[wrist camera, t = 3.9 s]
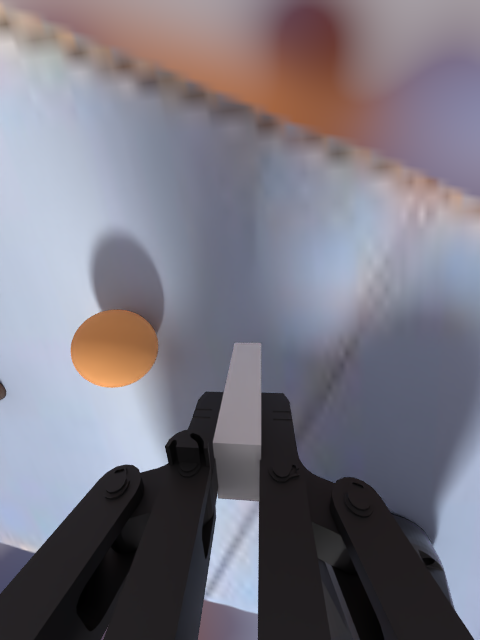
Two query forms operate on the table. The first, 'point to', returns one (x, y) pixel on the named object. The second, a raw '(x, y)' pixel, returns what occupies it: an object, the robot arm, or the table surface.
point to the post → (2, 392)
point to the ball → (114, 348)
